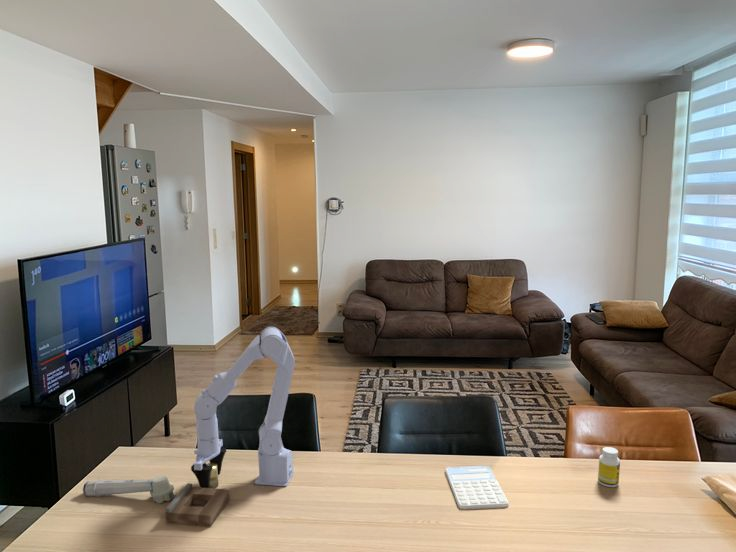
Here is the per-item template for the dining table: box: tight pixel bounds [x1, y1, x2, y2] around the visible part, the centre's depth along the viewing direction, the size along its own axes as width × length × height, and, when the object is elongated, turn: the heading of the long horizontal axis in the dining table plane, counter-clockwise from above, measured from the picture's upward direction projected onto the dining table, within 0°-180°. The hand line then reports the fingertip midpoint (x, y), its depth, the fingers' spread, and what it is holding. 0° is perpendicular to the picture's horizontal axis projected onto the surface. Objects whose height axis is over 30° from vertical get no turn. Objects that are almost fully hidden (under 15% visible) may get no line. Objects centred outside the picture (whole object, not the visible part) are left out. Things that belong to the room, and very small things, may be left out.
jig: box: [164, 482, 231, 527], centre depth 144 cm, size 12×12×4 cm
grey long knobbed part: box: [82, 475, 175, 504], centre depth 151 cm, size 5×7×25 cm
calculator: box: [445, 465, 510, 510], centre depth 153 cm, size 13×20×2 cm, turn 3°
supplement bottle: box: [597, 446, 621, 488], centre depth 154 cm, size 5×5×10 cm
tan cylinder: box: [206, 462, 219, 489], centre depth 156 cm, size 4×4×6 cm
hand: (210, 481), depth 156 cm, fingers open, 7 cm apart
